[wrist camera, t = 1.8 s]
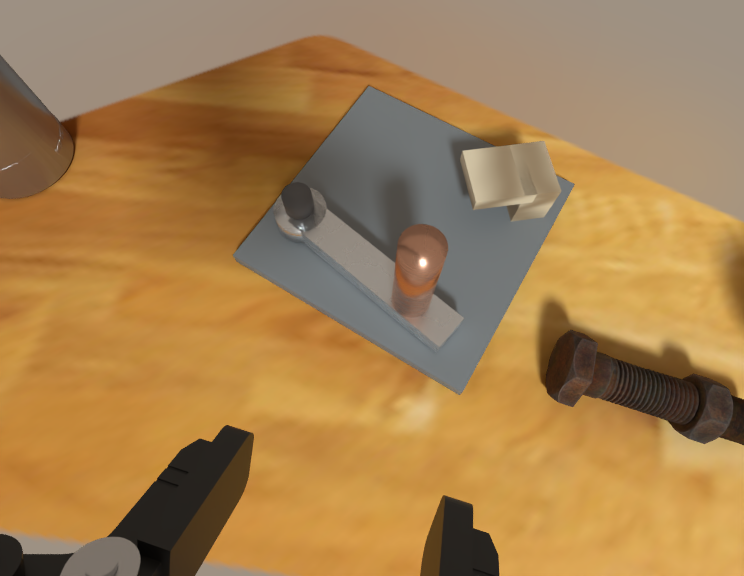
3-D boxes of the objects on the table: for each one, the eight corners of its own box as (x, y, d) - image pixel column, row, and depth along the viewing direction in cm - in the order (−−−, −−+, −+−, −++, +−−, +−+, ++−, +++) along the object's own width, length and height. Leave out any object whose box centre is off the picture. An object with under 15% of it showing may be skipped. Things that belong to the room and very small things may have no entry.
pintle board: (459, 395, 37) (474, 382, 32) (236, 261, 41) (217, 230, 36) (569, 191, 44) (596, 153, 39) (369, 94, 48) (368, 48, 43)
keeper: (466, 227, 41) (476, 202, 37) (454, 179, 43) (462, 150, 39) (544, 217, 41) (561, 191, 38) (528, 170, 43) (544, 140, 39)
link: (267, 222, 41) (232, 138, 31) (303, 190, 42) (281, 99, 32) (430, 360, 36) (453, 315, 26) (464, 319, 38) (499, 261, 27)
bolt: (722, 440, 38) (538, 381, 39) (748, 382, 37) (560, 324, 38) (774, 478, 32) (557, 408, 33) (807, 411, 31) (583, 341, 32)
